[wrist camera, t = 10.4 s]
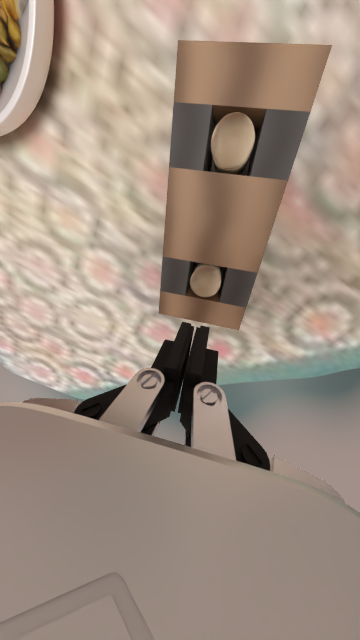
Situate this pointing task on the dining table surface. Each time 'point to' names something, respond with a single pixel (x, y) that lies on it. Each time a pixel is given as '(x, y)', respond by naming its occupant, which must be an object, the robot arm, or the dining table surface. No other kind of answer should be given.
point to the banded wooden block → (228, 189)
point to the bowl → (23, 58)
